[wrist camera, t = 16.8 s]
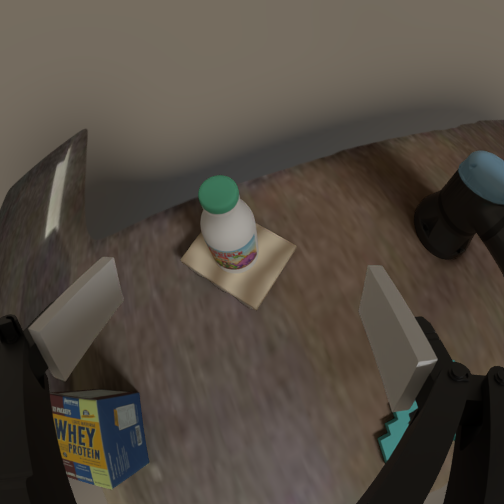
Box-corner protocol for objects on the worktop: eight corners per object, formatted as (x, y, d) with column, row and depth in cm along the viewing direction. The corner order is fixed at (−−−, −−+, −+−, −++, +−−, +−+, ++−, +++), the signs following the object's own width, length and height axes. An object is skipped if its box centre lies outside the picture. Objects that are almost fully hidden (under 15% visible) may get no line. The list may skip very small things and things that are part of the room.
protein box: (106, 456, 41) (62, 476, 27) (96, 388, 47) (46, 391, 32) (150, 463, 41) (113, 491, 27) (140, 391, 47) (96, 398, 32)
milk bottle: (216, 233, 52) (188, 165, 33) (259, 233, 51) (252, 162, 33) (213, 274, 49) (179, 221, 31) (258, 275, 49) (251, 220, 30)
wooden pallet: (294, 254, 54) (296, 245, 50) (257, 313, 51) (256, 309, 47) (225, 215, 58) (221, 204, 54) (187, 267, 55) (180, 260, 51)
